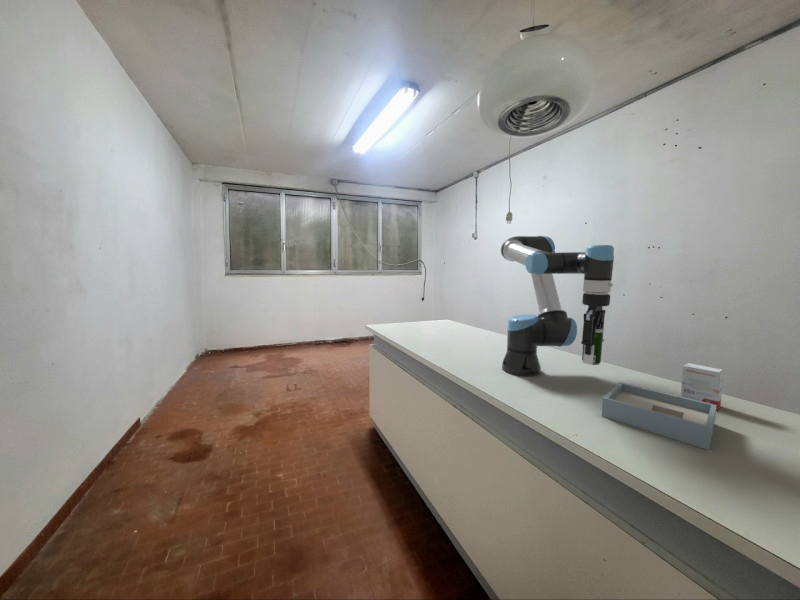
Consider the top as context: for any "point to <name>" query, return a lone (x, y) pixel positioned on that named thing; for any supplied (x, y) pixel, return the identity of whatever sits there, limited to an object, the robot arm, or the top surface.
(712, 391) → the ink box
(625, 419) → the inlet box
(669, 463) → the top surface
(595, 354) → the beer can
